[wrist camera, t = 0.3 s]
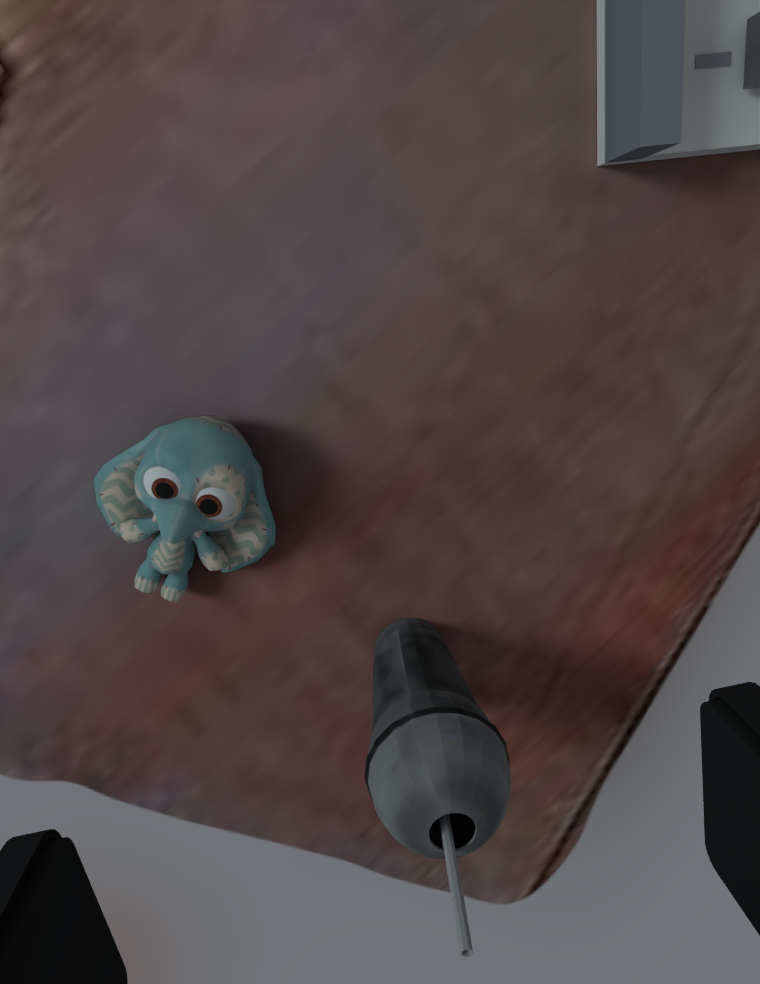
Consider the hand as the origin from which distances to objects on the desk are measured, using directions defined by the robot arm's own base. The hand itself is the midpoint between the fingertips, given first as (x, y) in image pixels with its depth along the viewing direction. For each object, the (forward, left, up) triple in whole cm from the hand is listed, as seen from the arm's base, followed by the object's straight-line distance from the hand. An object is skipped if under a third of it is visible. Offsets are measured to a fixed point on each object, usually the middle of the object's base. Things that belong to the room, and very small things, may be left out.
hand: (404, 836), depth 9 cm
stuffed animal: (+3, -10, -31) cm, 32 cm away
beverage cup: (+15, +2, -31) cm, 34 cm away
